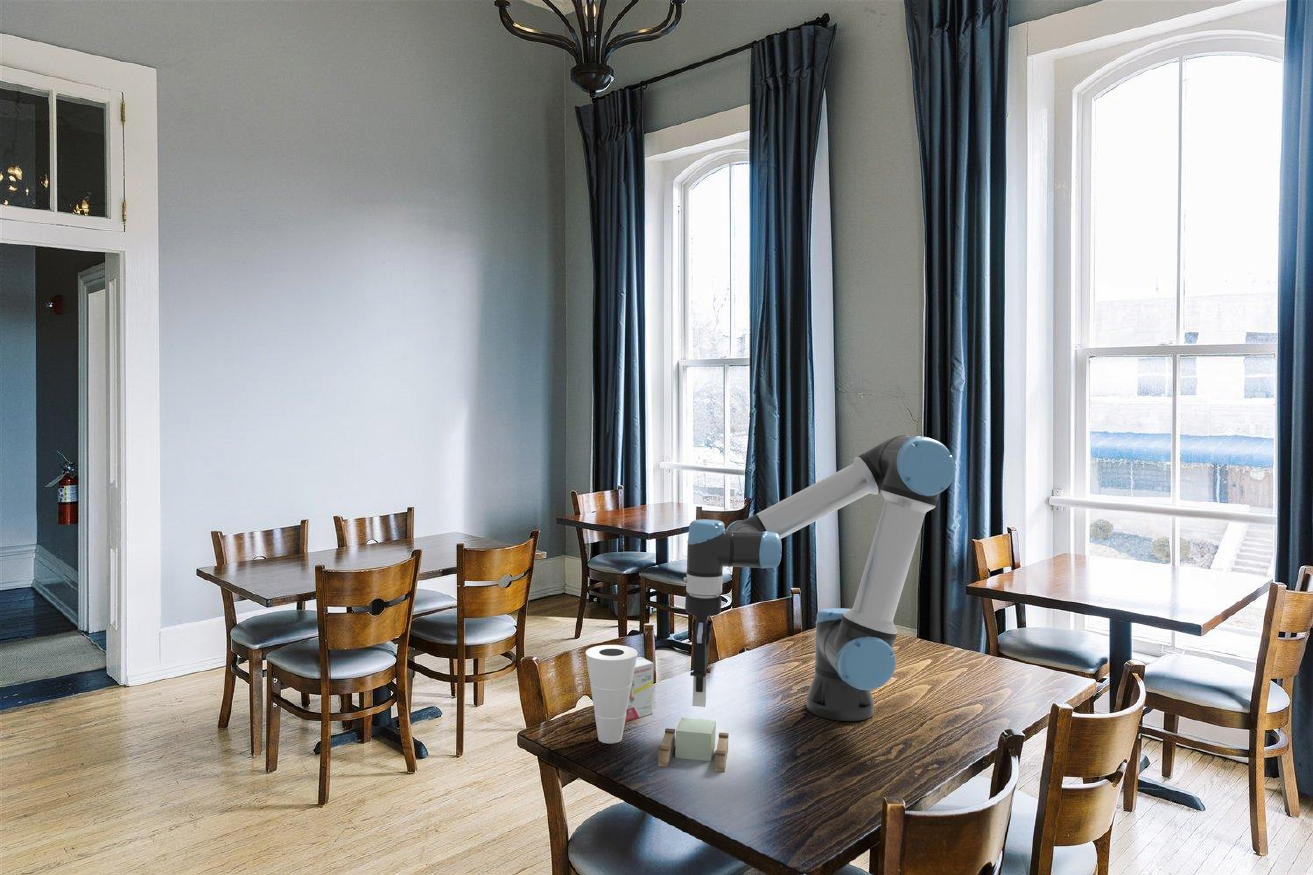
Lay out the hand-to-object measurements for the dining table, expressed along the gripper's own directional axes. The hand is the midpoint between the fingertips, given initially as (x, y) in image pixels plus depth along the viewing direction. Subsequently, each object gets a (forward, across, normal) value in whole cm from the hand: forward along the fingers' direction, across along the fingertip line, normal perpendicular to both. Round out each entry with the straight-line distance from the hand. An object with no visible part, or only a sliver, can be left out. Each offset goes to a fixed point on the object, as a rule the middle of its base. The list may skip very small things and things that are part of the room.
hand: (699, 705), depth 177 cm
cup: (+6, +7, -18) cm, 20 cm away
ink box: (+6, -7, -16) cm, 18 cm away
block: (+6, +10, 0) cm, 12 cm away
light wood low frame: (+6, +13, 0) cm, 14 cm away
